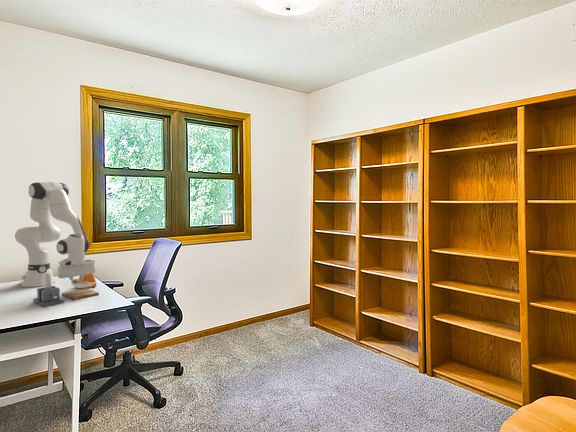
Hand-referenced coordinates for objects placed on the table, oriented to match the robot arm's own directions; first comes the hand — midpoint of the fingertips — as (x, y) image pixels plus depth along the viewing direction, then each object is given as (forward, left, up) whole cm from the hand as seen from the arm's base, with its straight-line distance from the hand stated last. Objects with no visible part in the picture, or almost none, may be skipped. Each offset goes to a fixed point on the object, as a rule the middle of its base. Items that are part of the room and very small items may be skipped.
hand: (76, 283), depth 216 cm
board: (+5, 0, -6) cm, 8 cm away
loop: (+5, 0, 0) cm, 5 cm away
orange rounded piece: (-12, +11, -7) cm, 18 cm away
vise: (+9, -18, -6) cm, 21 cm away
